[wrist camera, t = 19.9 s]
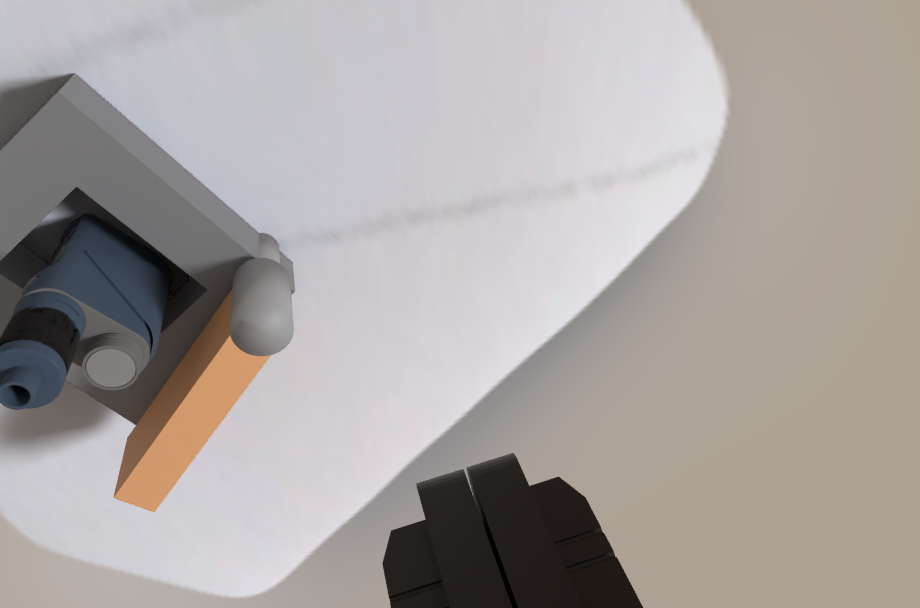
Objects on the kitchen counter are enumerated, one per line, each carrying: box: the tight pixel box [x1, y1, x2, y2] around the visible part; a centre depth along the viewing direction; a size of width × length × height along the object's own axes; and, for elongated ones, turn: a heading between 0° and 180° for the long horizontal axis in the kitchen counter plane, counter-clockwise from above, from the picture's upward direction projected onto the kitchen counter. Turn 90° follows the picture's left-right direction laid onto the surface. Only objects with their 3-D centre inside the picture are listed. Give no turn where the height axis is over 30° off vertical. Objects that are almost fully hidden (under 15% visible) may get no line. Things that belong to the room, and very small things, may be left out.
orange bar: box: [114, 258, 294, 512], centre depth 33 cm, size 11×2×4 cm, turn 141°
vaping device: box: [0, 214, 171, 410], centre depth 30 cm, size 3×5×12 cm, turn 45°
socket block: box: [0, 74, 295, 425], centre depth 34 cm, size 12×10×3 cm
